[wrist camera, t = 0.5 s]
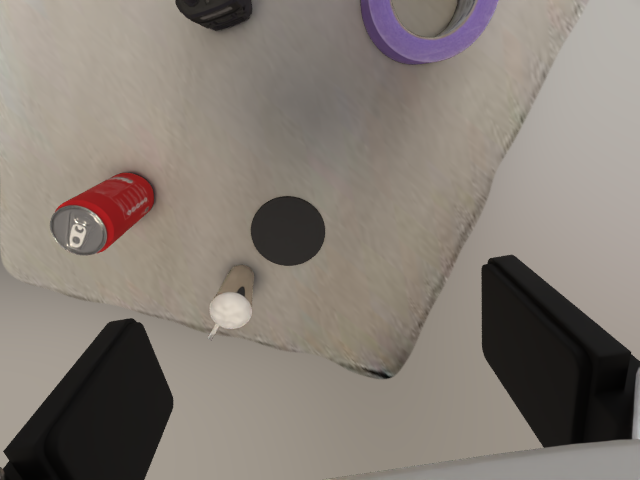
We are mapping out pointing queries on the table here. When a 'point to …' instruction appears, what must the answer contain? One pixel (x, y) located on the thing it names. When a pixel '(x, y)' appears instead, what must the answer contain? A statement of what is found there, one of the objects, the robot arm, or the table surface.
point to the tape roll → (412, 49)
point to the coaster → (288, 231)
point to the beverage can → (101, 214)
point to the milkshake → (233, 300)
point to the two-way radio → (216, 12)
